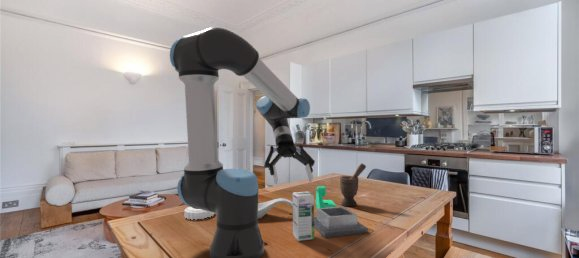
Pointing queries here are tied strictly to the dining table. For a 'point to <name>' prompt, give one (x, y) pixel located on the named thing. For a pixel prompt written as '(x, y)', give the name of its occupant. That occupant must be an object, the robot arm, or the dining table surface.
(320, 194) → the camera mount
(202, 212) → the mooncake
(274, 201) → the spoon rest
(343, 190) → the mortar and pestle
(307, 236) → the syrup box
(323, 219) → the docking sleeve
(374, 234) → the dining table surface
